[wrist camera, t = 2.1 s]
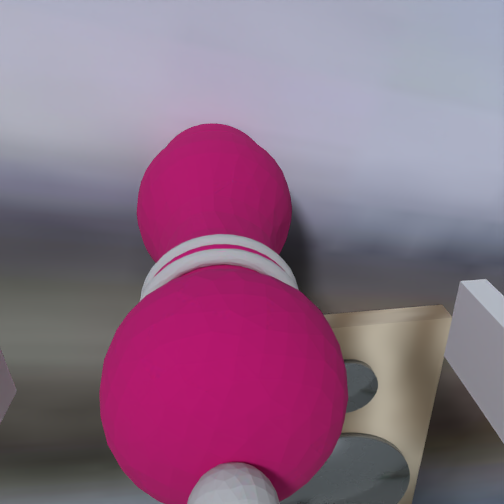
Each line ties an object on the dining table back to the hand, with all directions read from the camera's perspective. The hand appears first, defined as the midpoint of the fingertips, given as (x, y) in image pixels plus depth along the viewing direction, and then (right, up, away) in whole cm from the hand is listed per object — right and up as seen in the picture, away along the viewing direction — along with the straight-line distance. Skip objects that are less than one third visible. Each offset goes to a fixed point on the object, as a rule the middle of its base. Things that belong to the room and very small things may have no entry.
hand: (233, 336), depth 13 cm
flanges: (+7, -13, +22) cm, 27 cm away
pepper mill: (-2, +7, +12) cm, 14 cm away
